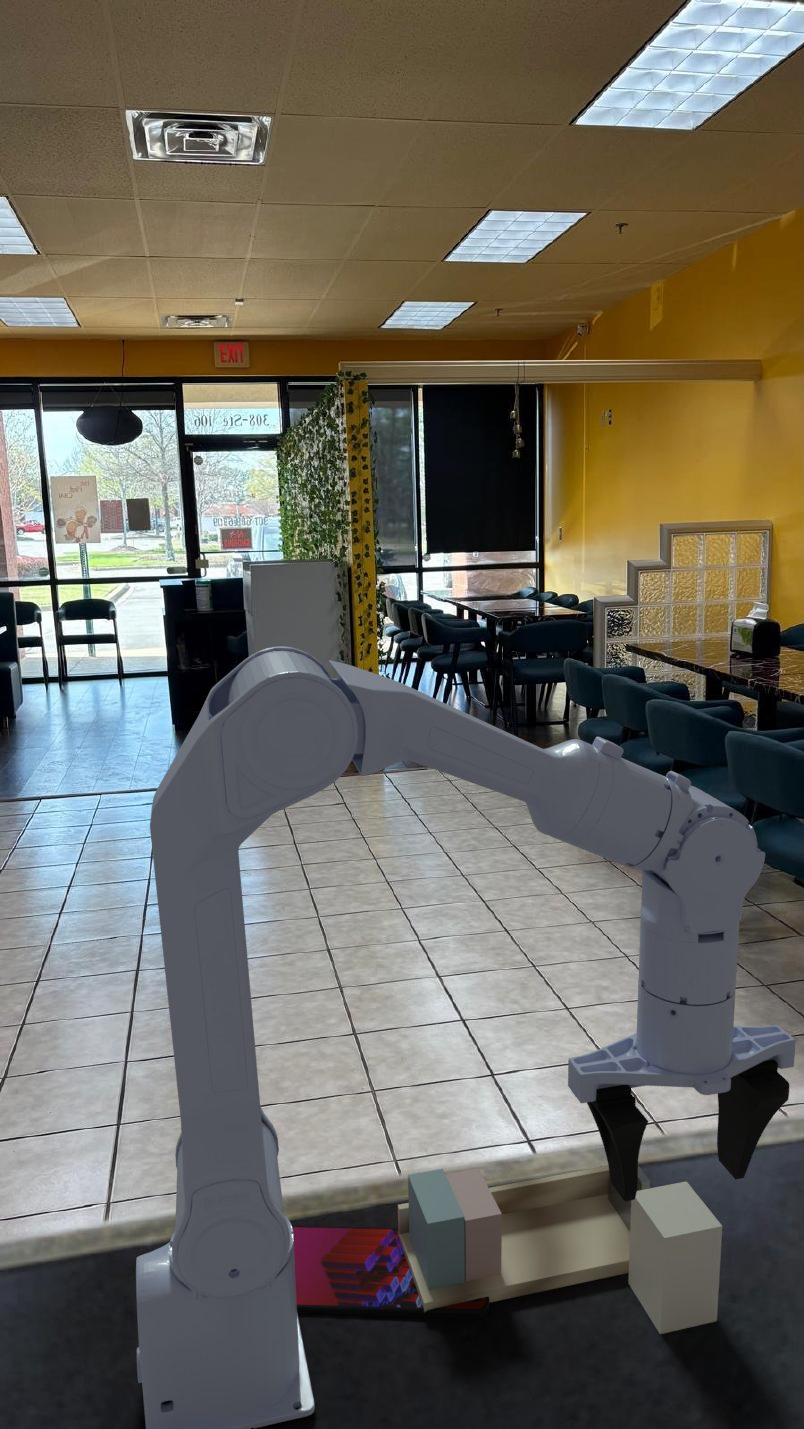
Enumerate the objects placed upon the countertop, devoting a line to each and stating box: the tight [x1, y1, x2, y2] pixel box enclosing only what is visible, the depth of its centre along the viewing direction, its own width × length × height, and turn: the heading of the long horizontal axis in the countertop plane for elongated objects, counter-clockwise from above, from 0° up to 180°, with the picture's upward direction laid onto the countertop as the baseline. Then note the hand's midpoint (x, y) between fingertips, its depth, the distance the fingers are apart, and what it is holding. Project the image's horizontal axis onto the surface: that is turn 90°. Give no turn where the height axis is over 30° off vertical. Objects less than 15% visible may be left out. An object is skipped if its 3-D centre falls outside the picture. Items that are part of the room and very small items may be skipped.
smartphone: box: [292, 1225, 491, 1320], centre depth 70 cm, size 8×1×15 cm
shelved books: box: [407, 1168, 502, 1290], centre depth 69 cm, size 5×5×5 cm
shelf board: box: [397, 1165, 630, 1313], centre depth 71 cm, size 18×7×3 cm, turn 104°
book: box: [627, 1181, 723, 1335], centre depth 66 cm, size 4×4×7 cm
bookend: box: [608, 1165, 651, 1231], centre depth 72 cm, size 1×5×5 cm, turn 14°
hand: (677, 1179), depth 65 cm, fingers open, 7 cm apart
